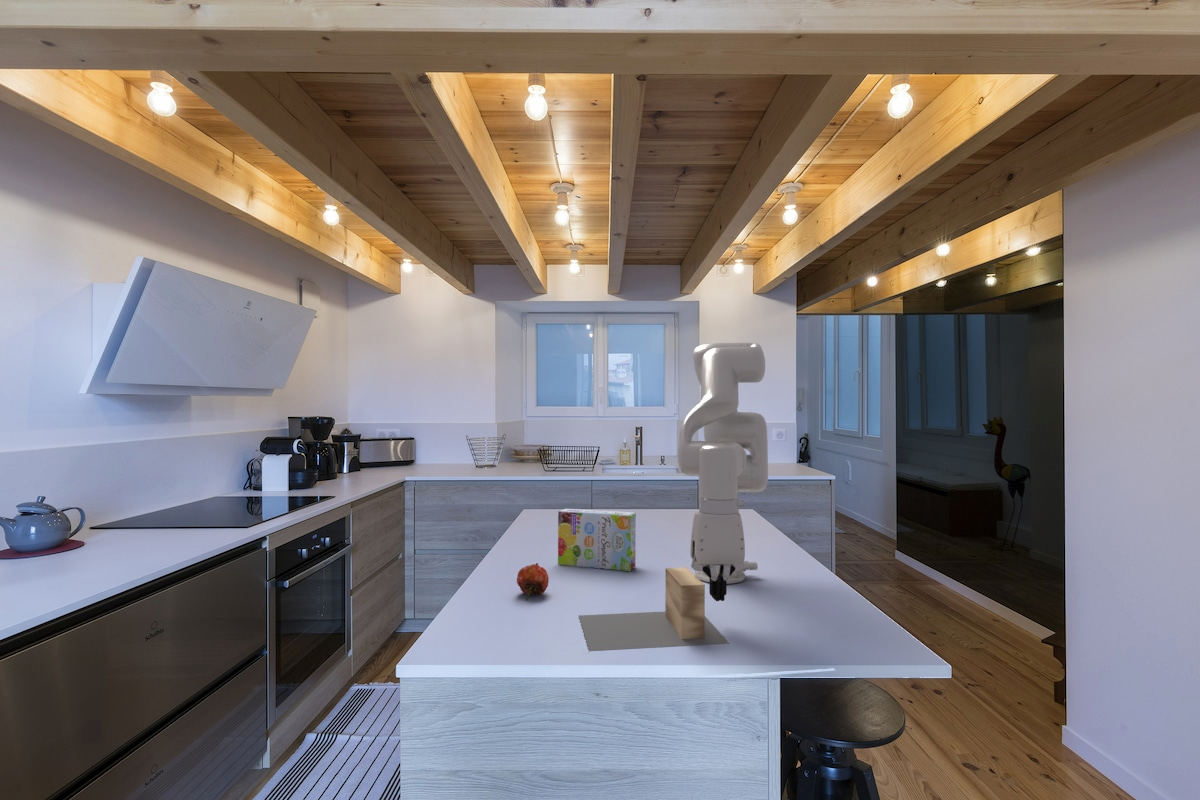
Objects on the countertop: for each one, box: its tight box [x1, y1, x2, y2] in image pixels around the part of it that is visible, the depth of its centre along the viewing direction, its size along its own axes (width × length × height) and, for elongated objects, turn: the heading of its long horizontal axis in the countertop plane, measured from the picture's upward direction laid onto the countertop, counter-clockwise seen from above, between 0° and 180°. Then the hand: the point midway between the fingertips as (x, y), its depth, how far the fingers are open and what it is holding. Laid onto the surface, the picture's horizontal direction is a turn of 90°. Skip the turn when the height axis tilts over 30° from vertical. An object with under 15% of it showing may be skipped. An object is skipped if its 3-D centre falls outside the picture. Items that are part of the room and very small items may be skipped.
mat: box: [578, 611, 730, 652], centre depth 117 cm, size 26×18×1 cm
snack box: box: [557, 508, 637, 572], centre depth 164 cm, size 21×6×15 cm, turn 71°
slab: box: [664, 566, 706, 639], centre depth 118 cm, size 4×12×10 cm, turn 8°
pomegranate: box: [516, 562, 549, 601], centre depth 138 cm, size 7×7×10 cm
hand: (717, 598), depth 119 cm, fingers closed
